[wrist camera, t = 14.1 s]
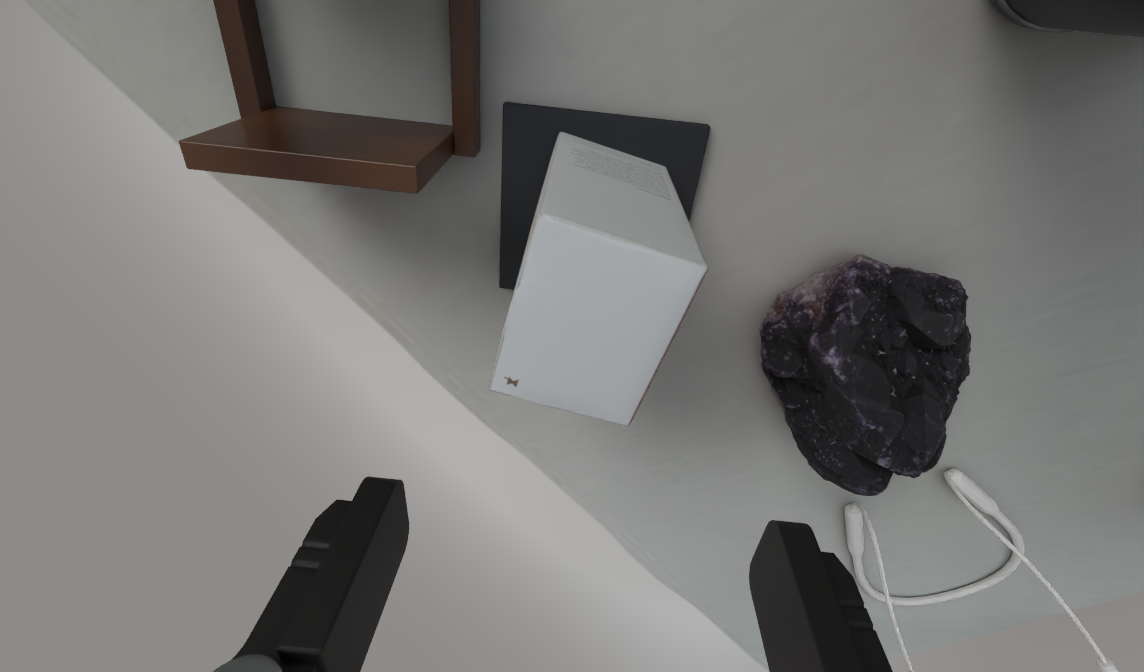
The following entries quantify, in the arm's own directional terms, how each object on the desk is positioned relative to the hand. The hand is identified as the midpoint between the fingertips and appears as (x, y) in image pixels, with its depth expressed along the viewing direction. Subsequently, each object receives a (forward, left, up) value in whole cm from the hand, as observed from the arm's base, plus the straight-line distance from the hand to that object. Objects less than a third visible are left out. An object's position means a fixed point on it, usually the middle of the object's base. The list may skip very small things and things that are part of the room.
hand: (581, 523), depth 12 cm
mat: (0, +1, -23) cm, 23 cm away
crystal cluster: (-18, +8, -23) cm, 30 cm away
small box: (0, +1, -22) cm, 22 cm away
